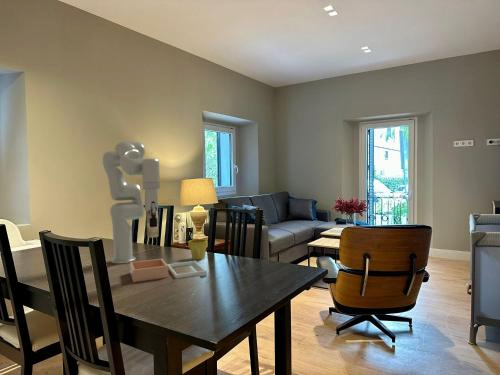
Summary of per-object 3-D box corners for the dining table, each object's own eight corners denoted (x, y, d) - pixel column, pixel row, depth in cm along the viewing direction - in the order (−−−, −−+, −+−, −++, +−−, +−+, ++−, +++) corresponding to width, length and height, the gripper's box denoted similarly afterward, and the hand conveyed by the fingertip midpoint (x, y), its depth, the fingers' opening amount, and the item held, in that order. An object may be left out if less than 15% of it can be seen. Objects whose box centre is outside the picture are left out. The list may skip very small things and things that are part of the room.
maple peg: (146, 236, 159) (145, 210, 158) (157, 235, 161) (156, 209, 160) (147, 237, 154) (147, 211, 154) (159, 236, 156) (158, 210, 156)
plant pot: (185, 259, 188) (184, 241, 188) (196, 255, 198) (196, 238, 197) (200, 261, 184) (200, 243, 183) (211, 257, 193) (211, 239, 192)
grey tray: (167, 269, 170) (167, 264, 170) (195, 265, 176) (195, 260, 175) (175, 280, 152) (175, 275, 151) (206, 276, 157) (206, 270, 157)
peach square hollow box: (130, 275, 161) (129, 262, 161) (162, 270, 167) (162, 258, 167) (133, 284, 148) (132, 270, 147) (168, 279, 154) (168, 265, 153)
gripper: (140, 185, 163) (142, 224, 164) (144, 187, 147) (146, 229, 148) (157, 185, 166) (158, 223, 167) (162, 186, 150) (164, 228, 151)
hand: (152, 225), depth 157 cm, fingers closed on maple peg, 5 cm apart
